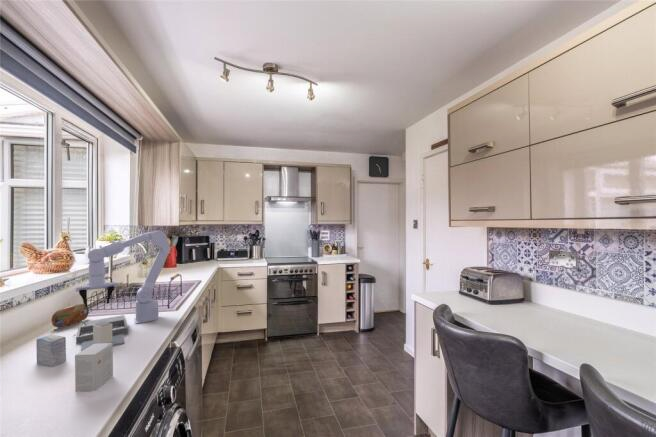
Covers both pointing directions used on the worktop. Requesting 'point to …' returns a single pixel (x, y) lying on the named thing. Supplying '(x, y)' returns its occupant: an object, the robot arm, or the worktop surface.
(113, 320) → the grey open frame tray
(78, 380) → the small box
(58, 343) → the medicine box
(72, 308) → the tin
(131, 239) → the robot arm
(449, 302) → the worktop surface
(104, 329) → the block
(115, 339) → the mat
